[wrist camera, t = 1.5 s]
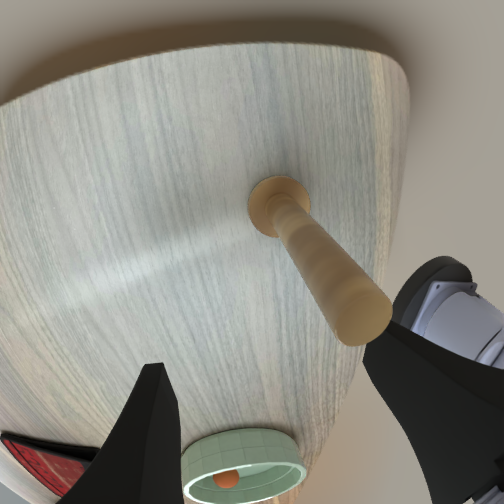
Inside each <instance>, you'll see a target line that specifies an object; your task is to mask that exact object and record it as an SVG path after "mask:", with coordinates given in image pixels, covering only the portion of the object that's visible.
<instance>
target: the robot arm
mask: <svg viewBox="0 0 504 504" xmlns="http://www.w3.org/2000/svg"><path fill="white" fill-rule="evenodd" d="M476 289H477V283H475V282H454V281H433V282H432V283H431V284H430V286H429V289H428V291H427V294H426V296H425V298H424V301H423V303H422V305H421V308H420V310H419V312H418V314H417V316H416V319H415V321H414V323H413V325H412V327H411V329H410V330H409V329H407V328H405V327H403V326H401V325H399V324H397V323H395V322H393V321H391V320H390V322H389V324H388V326H387V327H386V329H385V330H384V331H383V332H382V333H381V334H380V335H379V336H378V337H377V338H375V339H374V340H372V341H370V342H368V343H367V344H366V348H365V353H364V357H363V361H362V362H363V364H364V366H365V368H366V371H367V373H368V375H369V377H370V379H371V381H372V383H373V384H374V386H375V387H376V389H377V391H378V392H379V394H380V395H381V397H382V398H383V400H384V401H385V402H386V404H387V405H388V407H389V408H390V410H391V411H392V413H393V414H394V416H395V417H396V419H397V420H398V422H399V423H400V425H401V426H402V428H403V430H404V431H405V433H406V435H407V437H408V439H409V441H410V443H411V445H412V447H413V449H414V451H415V454H416V456H417V459H418V461H419V463H420V466H421V468H422V471H423V474H424V477H425V479H426V482H427V485H428V488H429V492H430V496H431V500H432V503H433V504H463V503H465V502H466V501H467V500H469V499H470V498H471V497H472V499H473V501H474V503H473V504H504V313H502V312H501V311H500V310H499V309H497V308H496V307H495V306H493V305H492V304H491V303H489V302H488V301H487V300H486V299H484V298H483V297H481V296H480V295H479V294H477V293H476V292H475V291H476ZM56 504H184V499H183V493H182V481H181V426H180V418H179V409H178V401H177V398H176V396H175V393H174V391H173V388H172V386H171V383H170V380H169V378H168V375H167V372H166V369H165V367H164V364H163V362H162V363H153V364H145V365H144V366H143V368H142V370H141V372H140V375H139V377H138V379H137V381H136V384H135V386H134V388H133V390H132V392H131V394H130V396H129V398H128V400H127V402H126V404H125V406H124V408H123V410H122V412H121V414H120V416H119V418H118V420H117V422H116V423H115V425H114V427H113V429H112V430H111V432H110V434H109V436H108V438H107V439H106V441H105V442H104V444H103V446H102V447H101V449H100V450H99V452H98V453H97V455H96V456H95V458H94V459H93V461H92V462H91V463H90V465H89V466H88V467H87V469H86V470H85V471H84V473H83V474H82V475H81V476H80V478H79V479H78V480H77V481H76V483H75V484H74V485H73V486H72V487H71V488H70V489H69V490H68V492H67V493H66V494H65V495H64V496H63V497H62V498H61V499H60V500H59V501H58V502H57V503H56Z"/></svg>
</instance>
